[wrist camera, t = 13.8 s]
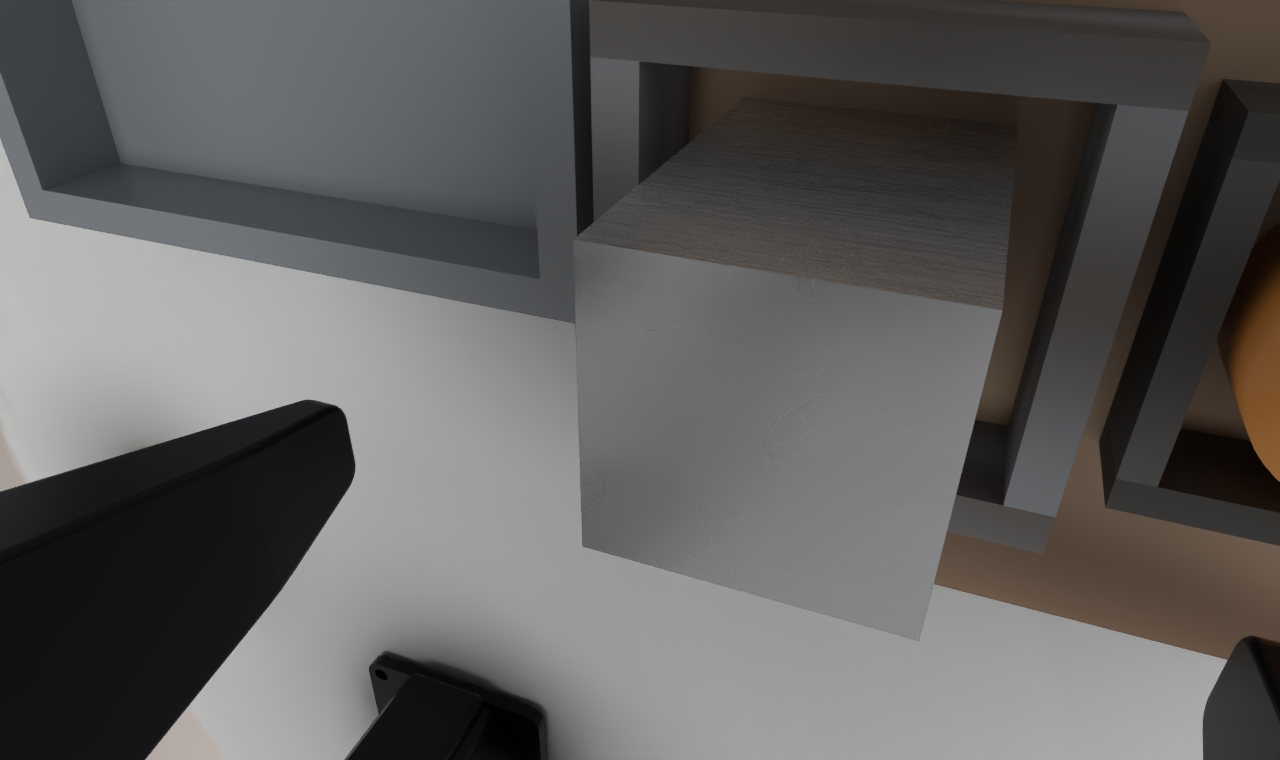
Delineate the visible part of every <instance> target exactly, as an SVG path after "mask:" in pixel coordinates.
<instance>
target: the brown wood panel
mask: <svg viewBox="0 0 1280 760" xmlns="http://www.w3.org/2000/svg"><path fill="white" fill-rule="evenodd" d="M589 20H590V68H591V116H592V165H593V213H594V222H595V221H596V220H597V219H598V218H600V217H601V216H602V215H603V214H604V213H606V212H607V211H608V210H609V209H610V208H612V207H613V206H614V205H615V204H616V203H618V202H619V201H620V200H621V199H622V198H624V197H625V196H626V195H627V194H628V193H630V192H631V191H632V190H633V189H634V188H636V187H637V186H638V185H639V184H640V183H642V182H643V181H644V180H645V179H646V178H648V177H649V176H650V175H651V174H652V173H654V172H655V171H656V170H657V169H658V168H660V167H661V166H662V165H663V164H664V163H666V162H667V161H668V160H669V159H670V158H672V157H673V156H674V155H675V154H676V153H678V152H679V151H680V150H681V149H682V148H684V147H685V146H686V145H687V144H688V143H690V142H691V141H692V140H693V139H694V138H696V137H697V136H698V135H699V134H700V133H702V132H703V131H704V130H705V129H706V128H708V127H709V126H710V125H711V124H712V123H714V122H715V121H716V120H717V119H718V118H720V117H721V116H722V115H723V114H724V113H726V112H727V111H728V110H729V109H730V108H732V107H733V106H734V105H735V104H736V103H738V102H739V101H740V100H741V99H742V98H744V97H746V98H755V99H765V100H775V101H784V102H794V103H804V104H813V105H823V106H833V107H842V108H852V109H862V110H872V111H881V112H891V113H901V114H910V115H920V116H930V117H939V118H949V119H959V120H968V121H978V122H988V123H998V124H1007V125H1017V126H1018V135H1017V147H1016V159H1015V170H1014V182H1013V194H1012V206H1011V217H1010V229H1009V241H1008V252H1007V264H1006V276H1005V288H1004V299H1003V311H1002V315H1001V319H1000V322H999V326H998V330H997V334H996V338H995V342H994V346H993V350H992V354H991V358H990V362H989V366H988V370H987V374H986V378H985V382H984V386H983V390H982V394H981V398H980V402H979V406H978V410H977V414H976V418H975V422H974V426H973V430H972V434H971V438H970V442H969V446H968V449H967V453H966V457H965V461H964V465H963V469H962V473H961V477H960V481H959V485H958V489H957V493H956V497H955V501H954V505H953V509H952V513H951V517H950V521H949V525H948V529H947V533H946V537H945V541H944V545H943V549H942V553H941V557H940V561H939V565H938V569H937V573H936V576H935V580H934V584H936V585H940V586H944V587H948V588H952V589H956V590H959V591H963V592H967V593H971V594H975V595H979V596H983V597H987V598H990V599H994V600H998V601H1002V602H1006V603H1010V604H1014V605H1018V606H1021V607H1025V608H1029V609H1033V610H1037V611H1041V612H1045V613H1049V614H1052V615H1056V616H1060V617H1064V618H1068V619H1072V620H1076V621H1079V622H1083V623H1087V624H1091V625H1095V626H1099V627H1103V628H1107V629H1110V630H1114V631H1118V632H1122V633H1126V634H1130V635H1134V636H1138V637H1141V638H1145V639H1149V640H1153V641H1157V642H1161V643H1165V644H1169V645H1172V646H1176V647H1180V648H1184V649H1188V650H1192V651H1196V652H1199V653H1203V654H1207V655H1211V656H1215V657H1219V658H1223V659H1227V660H1228V659H1229V657H1230V655H1231V653H1232V651H1233V649H1234V648H1235V646H1236V644H1237V643H1238V642H1239V641H1240V640H1241V639H1242V638H1244V637H1247V636H1258V637H1262V638H1266V639H1270V640H1274V641H1278V642H1280V482H1279V481H1278V480H1277V479H1276V478H1275V477H1274V476H1273V475H1272V473H1271V472H1270V471H1269V470H1268V469H1267V468H1266V467H1265V466H1264V464H1263V463H1262V461H1261V459H1260V458H1259V456H1258V455H1257V453H1256V451H1255V450H1254V448H1253V445H1252V443H1251V440H1250V438H1249V435H1248V433H1247V430H1246V427H1245V424H1244V421H1243V419H1242V416H1241V413H1240V410H1239V407H1238V404H1237V402H1236V399H1235V396H1234V393H1233V390H1232V387H1231V384H1230V382H1229V379H1228V376H1227V373H1226V370H1225V367H1224V365H1223V362H1222V359H1221V356H1220V351H1219V347H1218V342H1217V336H1218V333H1219V331H1220V328H1221V326H1222V323H1223V321H1224V318H1225V316H1226V313H1227V311H1228V308H1229V306H1230V303H1231V301H1232V298H1233V296H1234V293H1235V291H1236V288H1237V286H1238V283H1239V280H1240V278H1241V275H1242V273H1243V270H1244V268H1245V265H1246V263H1247V260H1248V258H1249V255H1250V253H1251V250H1252V249H1253V247H1254V246H1255V245H1256V244H1257V243H1258V242H1259V241H1260V240H1262V239H1263V238H1264V237H1265V236H1266V235H1267V234H1268V233H1269V232H1270V231H1271V230H1273V229H1274V228H1275V227H1277V226H1278V225H1279V224H1280V0H589Z"/></svg>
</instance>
